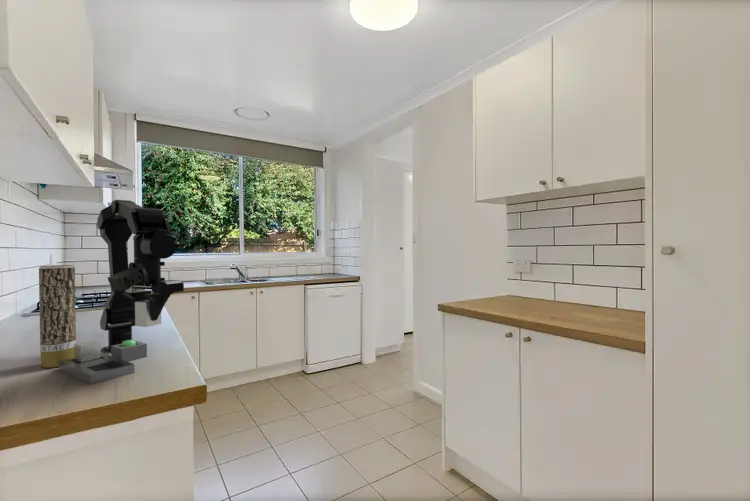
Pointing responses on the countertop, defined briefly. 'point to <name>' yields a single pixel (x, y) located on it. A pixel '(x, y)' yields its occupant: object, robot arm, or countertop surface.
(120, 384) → the countertop surface
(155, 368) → the countertop surface
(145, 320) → the block
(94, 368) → the rectangular frame
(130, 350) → the grey hollow square block
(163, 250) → the robot arm
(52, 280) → the paper tube
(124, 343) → the button
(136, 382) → the countertop surface
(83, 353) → the block
